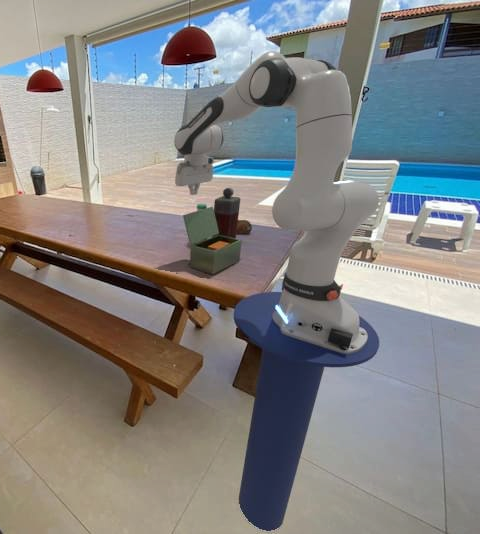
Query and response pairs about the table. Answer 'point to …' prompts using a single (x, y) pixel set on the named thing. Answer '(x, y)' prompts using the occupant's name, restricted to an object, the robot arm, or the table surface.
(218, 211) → the dark brown tall piece
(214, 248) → the toy van
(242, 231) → the brown rounded piece
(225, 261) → the green hinged box
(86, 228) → the table surface
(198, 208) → the milk bottle
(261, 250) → the table surface
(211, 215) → the lid
